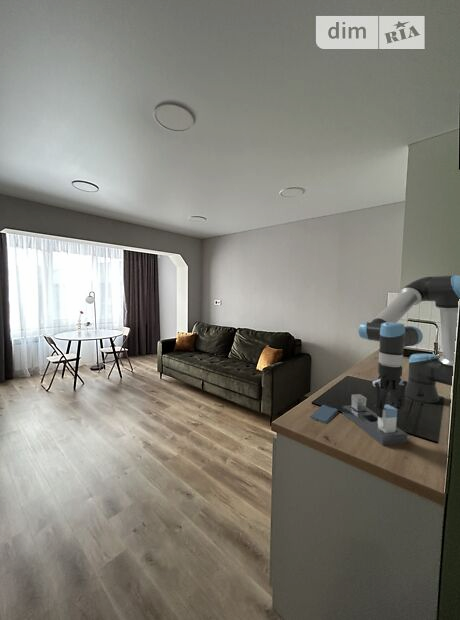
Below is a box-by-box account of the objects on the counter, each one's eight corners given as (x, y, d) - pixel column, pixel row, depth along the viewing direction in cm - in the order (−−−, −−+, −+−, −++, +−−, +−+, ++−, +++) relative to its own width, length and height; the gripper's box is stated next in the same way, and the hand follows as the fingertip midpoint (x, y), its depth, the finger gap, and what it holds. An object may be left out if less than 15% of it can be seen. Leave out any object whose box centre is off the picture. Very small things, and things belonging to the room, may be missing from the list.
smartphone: (308, 416, 108) (322, 404, 119) (308, 419, 109) (322, 407, 120) (326, 422, 103) (338, 409, 114) (326, 426, 103) (338, 412, 114)
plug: (386, 434, 96) (388, 404, 96) (395, 440, 92) (397, 409, 92) (377, 435, 96) (378, 405, 95) (385, 441, 92) (387, 410, 91)
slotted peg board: (362, 411, 114) (363, 392, 114) (406, 442, 91) (408, 418, 90) (342, 413, 113) (343, 393, 112) (382, 445, 89) (383, 420, 89)
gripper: (402, 360, 97) (398, 418, 99) (362, 362, 94) (359, 421, 96) (419, 366, 90) (415, 428, 91) (377, 368, 87) (373, 431, 89)
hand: (386, 424), depth 94 cm, fingers open, 4 cm apart
